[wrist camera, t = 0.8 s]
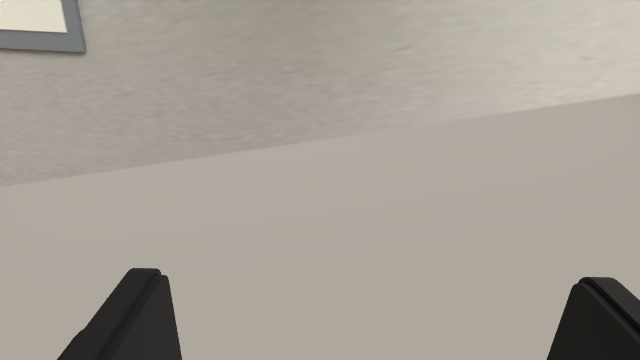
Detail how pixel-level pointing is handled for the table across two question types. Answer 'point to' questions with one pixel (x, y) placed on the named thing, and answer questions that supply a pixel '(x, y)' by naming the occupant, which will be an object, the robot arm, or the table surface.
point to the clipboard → (41, 25)
